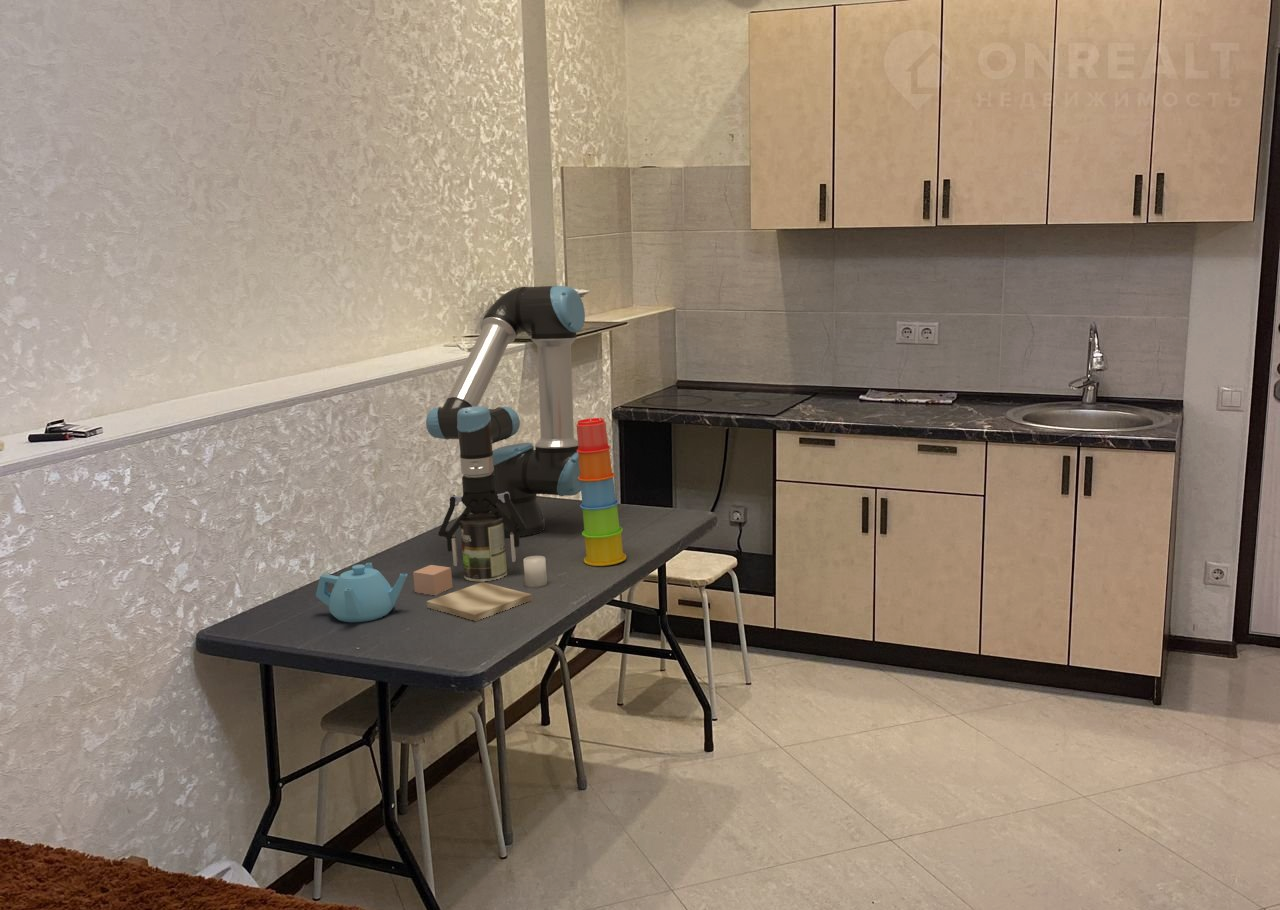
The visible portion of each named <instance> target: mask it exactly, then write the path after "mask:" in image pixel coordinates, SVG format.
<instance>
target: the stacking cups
mask: <svg viewBox="0 0 1280 910" xmlns="http://www.w3.org/2000/svg"><path fill="white" fill-rule="evenodd" d="M575 427H576V435H577V441H578V449H577V452H578V456H579V467H580V476H579V477H578V479H579V480H580V485H581V491H580V493H581V501H582V502H581V504H579V505H580V506H579V507H580V509H581V511H582V519H583V531H582V532H581V535H582V537H584V543H585V557H584V558H583V562H584V563H585V565H588V566H591V567H592V566H593V567H606V566H614V565H617V564H621V563H622V562H624V561H626V559H627V554H626V553H624V550H623V549H624V548H623V539H622V532H623V527H621V526H620V520H619V519H620V518H619V512H618V504H619V501H618V500H617V499H616V498H617V497H616V490H615V484H614V477H615V473H614V472H613V469H612V463H611V453H610V449H611V446H610V445H609V441H608V433H607V432H608V431H607V423H606V421H605V420H604V418H602V417H591V418H585V419H580V420H578V421H577V423H576V425H575Z"/></svg>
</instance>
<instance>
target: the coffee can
mask: <svg viewBox="0 0 1280 910" xmlns="http://www.w3.org/2000/svg"><path fill="white" fill-rule="evenodd" d="M502 521H503V518H498V517H497V516H496V515H494V514H493V513H492V512H491V511H490V512H489V513H487V514H483V513H479V514H473V513H469V515H468V516H467V517H466V518H465V520H464V521H463V520H460V526H459V528H460V538H461V539H460V540H461V548H462V549H461V550H462V564H463V578H464V580H466V581H468V580H469V581H468V582H473V581H474V583H475V582H476V583H481V582H485V581H488V582H493V581H492V580H494V581H497V580H496V579H498V580H501V579H503V578H505V577H507V575H508V570H507V569H508V568H507V567H508V566H507V555H506V553H507V551H506V541H505V538H506V537H504V523H503V522H502ZM504 576H505V577H504ZM500 578H501V579H500ZM485 583H486V582H485Z"/></svg>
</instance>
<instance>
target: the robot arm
mask: <svg viewBox="0 0 1280 910" xmlns="http://www.w3.org/2000/svg"><path fill="white" fill-rule="evenodd" d="M584 306H585V305H584V303H583V299H582V298H581V296H580V295H579V293H578V292H577V291H576V290H575V289H574V288H573V287H572V286H566V285H565V286H563V285H546V286H542V285H541V286H518V287H515V288H513V289H511V290H509V291H507V292H506V293H504V294H502V295H501V296H500V297H499V298H498V299H497V300H496V301H495V302H494V303H493V304H492V305H491V306H490V307H489V309H487V311H486V312H485V315H484V316H483V318H482V320H481V322H480V324H479V325H480V326H479V327H480V330H481V331H480V333H479V335H478V337H477V339H476V340H475V343H474V345H473V346H472V348H471V351H470V353H469V355H468V356H467V359H466V360H465V363H464V364H463V366H462V369H461V371H460V373H459V375H458V377H457V379H456V381H455V382H454V385H453V386H452V388H451V390H450V393H448V397H447V399H446V400H445V402H444V404H443V406H439V407H434V408H432V409H431V410H429V411H428V413H427V414H426V415H427V416H426V419H425V423H426V424H425V425H426V429H427V432H428V434H429V435H430V436H431V437H433V438H434V439H435V438H436V439H440V440H446V441H447V440H458V443H459V452H460V453H459V458H460V460H459V461H460V470H461V474H462V476H461V483H462V495H461V496H458V495H457V496H456V495H455V494H451V496H450V498H449V507H448V509H447V511H446V514H445V516H444V519H443V521H442V524H441V526H440V528H439V530H438V533H437V534H438V536H439V537H443V538H446V544H447V551H448V552H452V560H453V561H452V562H453V566H454V567H457V566H458V565H459V564H458V563H459V558H458V557H459V556H458V546H457V535H454V534H455V533H456V532H457V530H458V529H459V528H460V520H463V521H464V520H465V518H466V517H467V516H468V515H469V514H479V513H483V514H487V513H489V512H492V513H493V514H494V515H496V516H497V517H498V518H503V521H502V522H503V523H504V537H505V538H510V550H511V553H510V554H511V561H512V563H515V562H516V560H517V556H516V548H519V547H520V537H519V536H522V537H526V536H525V535H528V536H531V535H530V534H533V535H535V534H534V533H536V534H538V533H537V532H539V533H541V532H543V531H544V530H545V529H546V521H545V518H544V516H543V512H542V510H541V507H540V506H539V502H538V498H537V497H538V495H548V496H549V495H552V496H560V497H564V496H569V497H570V496H571V497H572V496H577V494H579V493H581V485H580V480H579V479H578V477H579V476H580V467H579V456H578V452H577V449H578V439H576V438H575V435H574V434H575V432H574V431H575V430H574V401H573V400H574V398H573V376H572V375H573V372H572V371H573V369H572V344H574V342H575V341H576V340H577V333H579V332H580V331H582V329H583V327H584V323H585V320H586V314H585V313H586V311H585V307H584ZM521 333H530V339H531V341H532V342H533V343H534V344H535V345H536V346H537V367H538V372H537V373H538V392H539V393H538V394H539V395H538V398H539V401H538V402H539V418H540V419H539V421H540V423H539V424H540V439H539V440H538V441H537V442H536V443H535V446H534V444H533V443H531V442H522V443H521V442H520V443H514V444H508V445H504V446H500V447H498V448H495V449H493V444H495V443H497V442H501V441H503V440H507V439H510V437H513V436H514V435H516V434H517V433H518V432H519V429H520V425H521V421H520V417H519V414H518V413H517V411H516V410H514V409H513V408H512V407H509V406H498V407H496V408H488V407H486V406H480V405H479V404H480V403H481V401H482V398H483V396H484V394H485V392H486V391H487V388H488V386H489V384H490V382H491V380H492V378H493V376H494V374H495V372H496V370H497V368H498V366H499V363H500V362H501V360H502V358H503V355H504V353H505V352H506V349H507V347H508V345H510V344H512V343H513V342H514V341H515V339H516V337H518V335H519V334H521ZM460 502H461V503H462V504H463V505H464V506H465V507H464V510H463V511H462V512H461V514H460V515H459V517H457V519H456V521H454V523H453V524H452V526H451V527H450V528H449V530H447V526H449V523H450V520H451V517H452V515H453V513H454V510H455V508H456V506H457V507H458V506H459V504H460ZM544 528H545V529H544ZM543 529H544V530H543ZM542 530H543V531H542ZM540 531H541V532H540Z"/></svg>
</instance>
